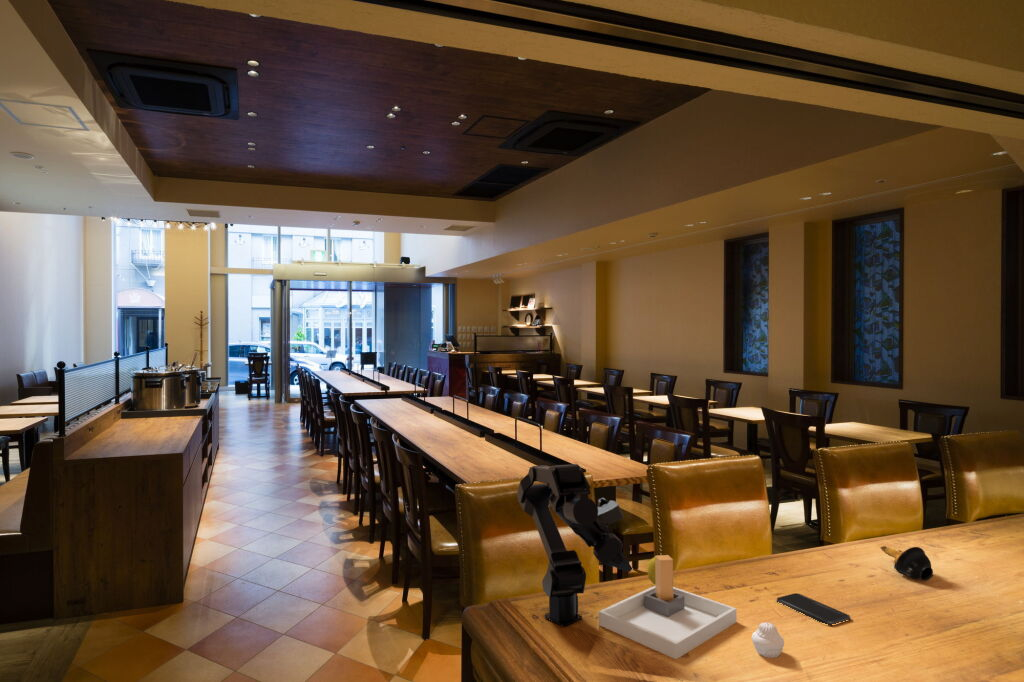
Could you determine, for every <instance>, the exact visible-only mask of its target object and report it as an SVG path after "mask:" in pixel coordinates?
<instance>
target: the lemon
mask: <svg viewBox="0 0 1024 682" xmlns="http://www.w3.org/2000/svg"><path fill="white" fill-rule="evenodd" d="M648 575H649V576H648ZM647 576H648V578H649V580H650V581H651V583H652V584H654V585H655V556H654V557H652V558H651V559H650V560H649V562H648V566H647Z"/></svg>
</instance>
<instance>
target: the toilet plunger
mask: <svg viewBox="0 0 1024 682" xmlns="http://www.w3.org/2000/svg"><path fill="white" fill-rule="evenodd" d="M879 548H880V549H881V551H882V552H883V553H885V554H886V555H887V556H889V557H892V558H894V560H893V561H894V564H893V567H894V570H895V569H896V570H897V571H896V570H895V571H896V572H897V573H899V574H900V575H902V574H903V576H906V577H907V578H909V579H912V580H913V579H914V580H919V579H920V580H921V581H924V582H925V581H926V582H927V581H929V580H930V579H932V578H933V577H934V571H933V568H932V562H931V560H930V559H929V557H928V556H927V555H926V553H925V550H924V549H923V548H921V547H919V546H912V547H910V548H908V549H905V550H900V549H898V550H897V549H894V548H892V547H887V546H885V545H882V546H880V547H879Z"/></svg>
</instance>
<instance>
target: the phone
mask: <svg viewBox="0 0 1024 682" xmlns="http://www.w3.org/2000/svg"><path fill="white" fill-rule="evenodd" d="M777 601H778V602H779V603H782V604H783V605H782V604H781V605H782V606H784V605H786V606H788V607H790V608H792V609H794V610H796V611H795V612H797V611H798V612H797V613H799V612H801V613H803V614H805V615H807V616H809V617H811V618H813V619H812V620H814V619H815V620H814V621H816V620H817V621H816V622H818V621H819V622H818V623H820V622H822V623H825V624H828V625H832V624H836V623H839V622H843V621H846V620H850V621H851V615H849V614H848V613H844V612H842V611H840V610H838V609H835V608H834V607H832V606H829V605H827V604H824V603H823V602H820V601H817V600H815V599H813V598H811V597H808V596H806V595H803V594H801V593H791V594H785V595H783V596H779V597H777V598H776V602H777ZM778 602H777V603H778ZM779 603H778V604H779ZM786 606H785V607H786ZM788 607H787V608H788ZM790 608H789V609H790ZM792 609H791V610H792ZM794 610H793V611H794ZM801 613H800V614H801ZM803 614H802V615H803ZM805 615H804V616H805ZM807 616H806V617H807ZM809 617H808V618H809ZM811 618H810V619H811ZM822 623H821V624H822Z"/></svg>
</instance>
